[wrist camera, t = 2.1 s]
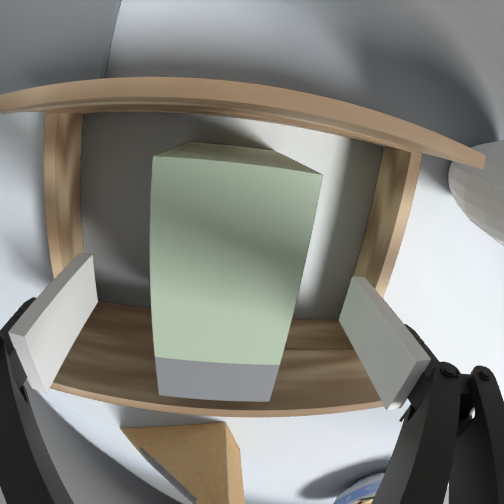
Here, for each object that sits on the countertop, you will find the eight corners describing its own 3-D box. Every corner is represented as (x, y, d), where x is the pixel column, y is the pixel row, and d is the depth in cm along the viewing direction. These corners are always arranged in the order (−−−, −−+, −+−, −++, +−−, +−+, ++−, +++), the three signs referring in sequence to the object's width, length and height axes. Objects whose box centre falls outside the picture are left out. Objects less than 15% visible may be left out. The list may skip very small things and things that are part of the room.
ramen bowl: (296, 499, 49) (302, 527, 41) (366, 456, 42) (379, 490, 34) (368, 494, 55) (375, 516, 48) (431, 452, 48) (443, 476, 41)
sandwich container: (117, 425, 32) (98, 518, 18) (224, 419, 32) (230, 529, 18) (144, 454, 36) (134, 535, 22) (240, 448, 36) (248, 539, 22)
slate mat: (6, -30, 9) (1, -32, 8) (147, -72, 11) (145, -77, 10) (-30, 110, 15) (-37, 110, 14) (103, 86, 17) (98, 85, 16)
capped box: (189, 141, 20) (152, 156, 9) (274, 150, 20) (323, 175, 10) (180, 291, 24) (159, 394, 14) (252, 297, 25) (269, 401, 15)
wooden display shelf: (74, 101, 17) (-13, 98, 8) (395, 137, 20) (485, 155, 11) (82, 308, 24) (38, 384, 15) (345, 328, 27) (385, 406, 18)
